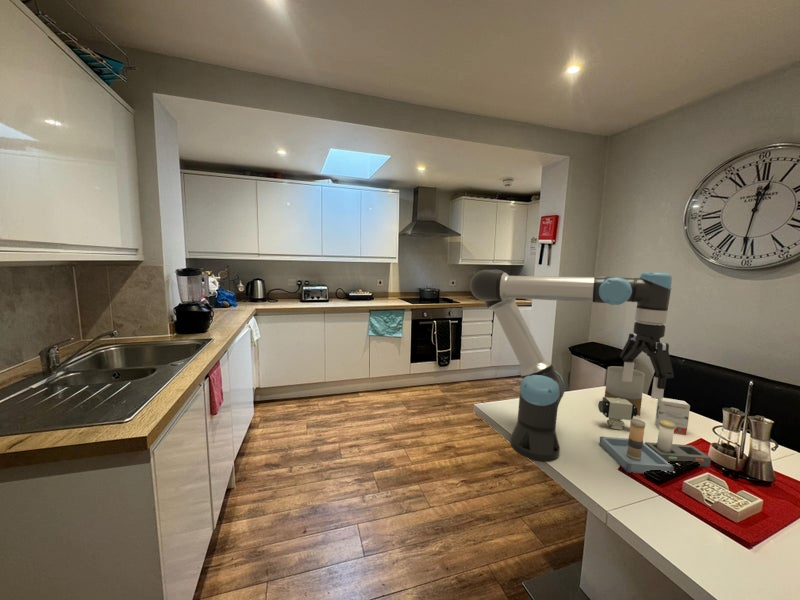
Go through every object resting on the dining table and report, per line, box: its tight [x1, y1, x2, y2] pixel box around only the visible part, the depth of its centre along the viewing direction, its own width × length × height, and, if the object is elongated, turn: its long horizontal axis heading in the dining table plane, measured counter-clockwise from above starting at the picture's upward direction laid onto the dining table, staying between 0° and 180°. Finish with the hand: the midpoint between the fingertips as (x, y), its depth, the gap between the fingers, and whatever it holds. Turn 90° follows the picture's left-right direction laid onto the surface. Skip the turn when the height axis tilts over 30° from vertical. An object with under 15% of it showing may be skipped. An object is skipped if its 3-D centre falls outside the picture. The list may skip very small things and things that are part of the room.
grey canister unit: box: [604, 365, 646, 416], centre depth 136 cm, size 13×13×18 cm
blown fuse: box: [626, 418, 646, 461], centre depth 101 cm, size 4×4×12 cm
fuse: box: [656, 420, 675, 453], centre depth 102 cm, size 4×4×12 cm
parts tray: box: [598, 436, 675, 474], centre depth 101 cm, size 13×15×3 cm
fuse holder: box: [644, 441, 712, 468], centre depth 102 cm, size 15×7×3 cm, turn 86°
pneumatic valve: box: [597, 396, 638, 431], centre depth 121 cm, size 6×12×12 cm, turn 78°
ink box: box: [654, 397, 691, 436], centre depth 121 cm, size 9×5×12 cm, turn 65°
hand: (640, 389), depth 99 cm, fingers open, 13 cm apart
